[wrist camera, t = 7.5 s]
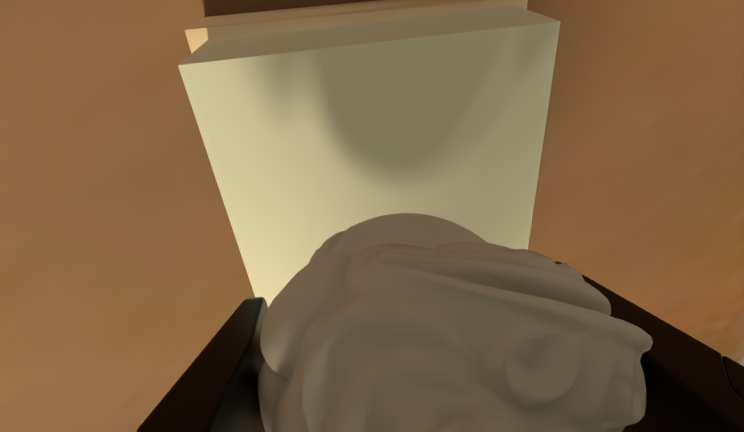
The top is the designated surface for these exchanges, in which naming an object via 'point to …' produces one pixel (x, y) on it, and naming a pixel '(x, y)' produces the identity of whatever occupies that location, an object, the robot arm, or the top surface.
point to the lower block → (326, 16)
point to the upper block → (374, 128)
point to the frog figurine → (444, 339)
